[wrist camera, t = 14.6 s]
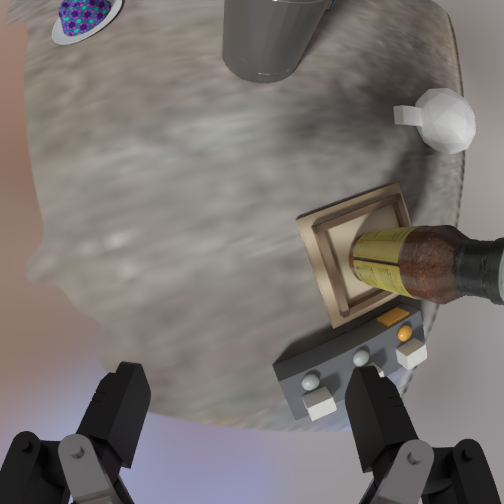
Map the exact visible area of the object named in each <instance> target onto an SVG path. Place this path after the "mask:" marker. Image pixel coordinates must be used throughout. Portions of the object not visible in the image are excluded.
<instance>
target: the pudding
mask: <svg viewBox="0 0 504 504" xmlns="http://www.w3.org/2000/svg"><path fill="white" fill-rule="evenodd" d="M108 1H109V2H110V3H111V6H110V5H109V4H108V3H109V2H108ZM121 5H122V0H64V1H63V2H62V3H61V6H60V8H59V19H58V20H57V22H56V23H55V25H54V27H53V31H52V38H53V40H54V41H55V42H56V43H58V44H62V45H64V44H72V43H75V42H78V41H81V40H83V39H85V38H87V37H89V36H91V35H93V34H94V33H96V32H97V31H99V30H100V29H102V28H103V27H104V26H105V25H107V24H108V23H109V22H110V21H111V20H112V19H113V18H114V17H115V15H116V14H117V13H118V11H119V9H120V8H121ZM110 9H111V11H110ZM109 11H110V13H109V14H108V16H107V17H106V18H105V15H106V14H107V13H108V12H109ZM98 24H99V25H98ZM95 25H98V26H96V27H95V28H94V29H92V28H93V26H95ZM91 29H92V30H91ZM89 30H90V31H89ZM63 32H64V33H68V36H66V35H65V34H64V33H63ZM86 32H87V33H86ZM78 33H81V34H82V35H79V36H75V35H77V34H78ZM83 33H84V34H83ZM69 36H75V37H69Z"/></svg>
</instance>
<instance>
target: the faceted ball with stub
mask: <svg viewBox="0 0 504 504" xmlns="http://www.w3.org/2000/svg"><path fill="white" fill-rule="evenodd" d="M393 109H394V121H395V124H398V125H413V126H416V128H417V130H418V132H419V134H420V136H421V138H422V140H423V142H425V143H426V144H428V145H429V146H430V147H432V148H433V149H434V150H436V151H439V152H444V153H449V154H455V153H457V152H460V151H462V150H465V149H467V148H468V147H469V145H470V143H471V141H472V139H473V137H474V135H475V133H476V130H475V129H476V127H475V117H474V113H473V111H472V109H471V107H470V105H469V103H468V102H467V100H466V99H465V98H463V97H462V96H460V95H459V94H457V93H456V92H454V91H453V90H451V89H449V88H439V89H429V90H427V91H426V92H425V93H424V94H423V95H422V96H421V97H420V98H419V99H418V101H417V102H416V105H415V107H413V106H404V105H401V106H393Z"/></svg>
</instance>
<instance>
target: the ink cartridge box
mask: <svg viewBox="0 0 504 504" xmlns="http://www.w3.org/2000/svg"><path fill="white" fill-rule="evenodd" d="M335 2H336V0H330V2H329V3H328V5H327V7H326V9H325V10H328V11H331V9H332V7H333V5H334V4H335Z"/></svg>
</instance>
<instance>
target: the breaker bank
mask: <svg viewBox="0 0 504 504" xmlns="http://www.w3.org/2000/svg"><path fill="white" fill-rule="evenodd" d="M426 358H427V353H426V344H425V338H424V330H423V323H422V317H421V311H420V310H419V309H416V308H414V307H411V306H409V305H406V304H404V303H401V304H399V305H397V306H396V307H394V308H392V309H390V310H389V311H387V312H385V313H383V314H381V315H379V316H378V317H376V318H374V319H372V320H370V321H368V322H366V323H364V324H362V325H360V326H358V327H356V328H354V329H352V330H350V331H348V332H346V333H344V334H342V335H340V336H338V337H336V338H334V339H332V340H330V341H328V342H325V343H323V344H321V345H319V346H317V347H314V348H312V349H310V350H308V351H305V352H303V353H301V354H298V355H296V356H294V357H291V358H289V359H287V360H284V361H282V362H279V363H277V364H274V365H272V366H273V368H274V371H275V373H276V376H277V378H278V381H279V383H280V386H281V388H282V390H283V393H284V395H285V397H286V399H287V402H288V404H289V406H290V409H291V411H292V413H293V416H294V418H295V420H298V419H300V418H302V417H305V416H307V415H310V417H311V419H312V421H314V420H316V419H318V418H320V417H323V416H325V415H327V414H329V413H331V412H334V411H336V410H337V409H336V406H335V403H336V402H338V401H341V400H343V399H345V392H346V389H347V386H348V384H349V381H350V378H351V375H352V372H353V369H354V368H355V367H360V366H369V365H374V366H375V367H376V368H377V370H378V373H379V375H380V377H385V376H387V375H389V374H391V373H393V372H394V371H396V370H397V369H399V368H401V367H402V366H404V367H405V368H406V369H408V370H410V369H411V368H413V367H414V366H416V365H418V364H419V363H420V362H422V361H423V360H425V359H426Z"/></svg>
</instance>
